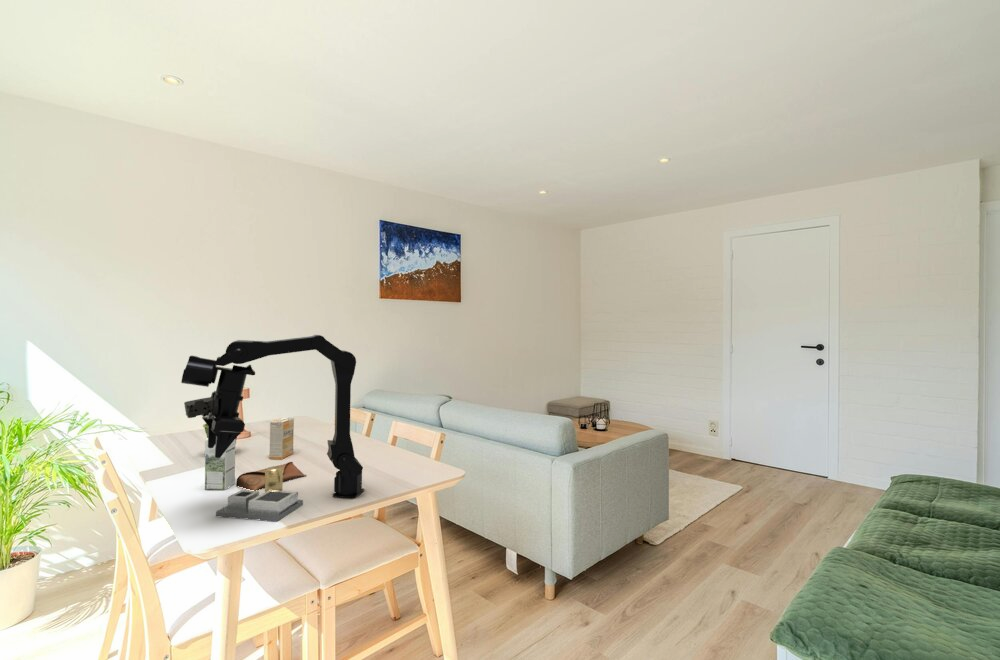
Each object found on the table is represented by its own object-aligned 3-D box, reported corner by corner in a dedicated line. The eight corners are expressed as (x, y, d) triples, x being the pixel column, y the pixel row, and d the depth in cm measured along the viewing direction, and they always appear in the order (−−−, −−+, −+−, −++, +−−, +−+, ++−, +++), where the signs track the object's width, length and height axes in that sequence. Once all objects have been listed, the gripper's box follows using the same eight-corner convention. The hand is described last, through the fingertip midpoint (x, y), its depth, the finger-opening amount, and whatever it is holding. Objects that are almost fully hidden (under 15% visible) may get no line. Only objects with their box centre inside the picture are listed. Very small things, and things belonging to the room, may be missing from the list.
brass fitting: (285, 491, 131) (286, 466, 131) (276, 497, 126) (276, 471, 126) (271, 490, 131) (271, 465, 131) (261, 496, 127) (261, 470, 127)
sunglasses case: (253, 492, 130) (246, 469, 131) (240, 500, 133) (233, 478, 135) (309, 475, 145) (302, 455, 147) (296, 483, 148) (289, 463, 150)
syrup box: (235, 483, 137) (236, 433, 136) (224, 490, 131) (225, 438, 131) (215, 483, 136) (216, 433, 136) (203, 490, 130) (204, 438, 130)
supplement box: (282, 459, 161) (283, 421, 161) (268, 459, 161) (269, 421, 161) (294, 453, 170) (294, 417, 169) (281, 453, 170) (281, 417, 170)
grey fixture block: (302, 504, 122) (303, 490, 122) (276, 521, 111) (276, 506, 111) (246, 499, 124) (247, 486, 124) (215, 516, 113) (216, 501, 113)
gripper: (186, 380, 118) (170, 441, 117) (198, 392, 104) (180, 462, 103) (235, 385, 125) (220, 443, 124) (252, 397, 111) (236, 463, 110)
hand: (213, 452), depth 115 cm, fingers open, 9 cm apart
